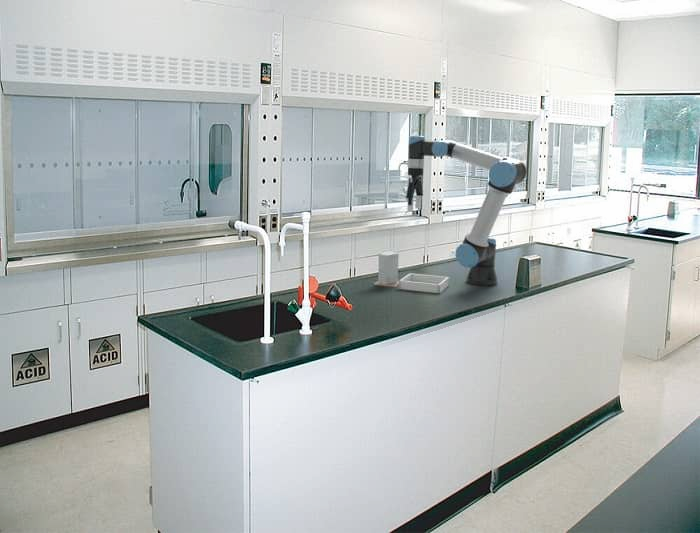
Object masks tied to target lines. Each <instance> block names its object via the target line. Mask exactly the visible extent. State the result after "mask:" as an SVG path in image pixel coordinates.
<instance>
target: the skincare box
mask: <svg viewBox="0 0 700 533" xmlns="http://www.w3.org/2000/svg"><path fill="white" fill-rule="evenodd" d="M377 273H378V274H377V275H378V276H377V277H378V279H377V281H378V282H379V283H382V284H384V285H386V284H392V283H398V281H399V253H397V252H394V251H387V252H381V253H378V272H377Z"/></svg>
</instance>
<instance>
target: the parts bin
mask: <svg viewBox="0 0 700 533" xmlns="http://www.w3.org/2000/svg"><path fill="white" fill-rule="evenodd" d="M398 281H399V285H398V290H405V291H407V290H408V291H415V292H424V293H434V294H441V293H442V292H443V291H444V290H445V289H446V288H448V287H449V286H450V277H449V276H443V275H442V276H440V275H432V274H430V275H429V274H422V273H414V272H413V273H410V272H409V273H408V274H407V275H405V276H404V277H402V278H401V279H398Z"/></svg>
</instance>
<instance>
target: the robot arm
mask: <svg viewBox="0 0 700 533" xmlns="http://www.w3.org/2000/svg"><path fill="white" fill-rule="evenodd" d="M425 138H426V137H425V135H410V136H409V140H408V141H409V142H408V160H407V163H408V164H407V166H408V168H407V175H408V176H410V177H409V178H408V185H407V191H406V196H405V198H406V199H407V211H406V212H408V213H410V212H411V213H413V212H414V208H415V209H422V196H423V195H424V192H423V191H424V190H423V182H422V179H423V178H422V176H423V175H424V165H425V164H424V162H425V160H424V159H425V158H424V156H428V157H437V158H438V157H440V158H441V157H445V156H446V157H449V158H452V159H455V160H458V161H461V162H464V163H466V164H470V165H473V166H475V167H478V168H481V169H485V170H487V171H489V172H488V178H489V180H488V182H487V185H488V188H489V189H488V191H487V193H486V195H485V198H484V200H483V203H482V206H481V207H480V210H479V212H478V214H477V216H476V219H475V221H474V223H473V226H472V229H471V230H470V232H469V233H468V234H465V236H464V238H463V241H462V243H461V244H459V245H458V246H457V247H456V250H455V256H454V257H455V258H456V262H457V263H458V264H459V265H460V266H462V267H464V268H469V270H468V273H467V275H466V279H465V280H466V283H468V284H470V285H475V286H483V287H484V286H485V287H486V286H488V287H489V286H495V285H498V277H497V273H496V269H495V264H496V251H497V240H496V239H495V238H494V237H490V234H491V233H492V230H493V228H494V225H495V223H496V221H497V218H498V216H499V214H500V213H501V209H502V207H503V205H504V203H505V200H506V198H507V196H508V195H511V194H512V192H513V191H514V188H515V186H516V185H518V184H521V183H522V182H523V181H524V180H525V179H526V177H527V174H528V173H527V171H528V169H527V166H526V164H525V163H524V162H523V161H522V160H519V159H516V158H512V157H511V158H510V157H507V156H504V157H500V156H497V155H495V154H492V153H490V152H487V151H486V152H485V151H484V150H483V151H482V150H480V149H476V148H473V147H471V146H467V145H464V144H461V143H457V142H456V141H455V140H451V139H445V140H444V139H443V140H442V139H441V140H438V139H437V140H426V139H425ZM414 194H416V195H414ZM414 196H415V207H414Z"/></svg>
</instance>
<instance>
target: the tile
mask: <svg viewBox="0 0 700 533" xmlns="http://www.w3.org/2000/svg"><path fill="white" fill-rule="evenodd" d="M373 285H374V286H381V287H390V288H391V287H392V288H397V287H399V280H398V283H392V284H386V285H384V284H382V283H379V282H378V280H377V281H376V282H375V283H373Z"/></svg>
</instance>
